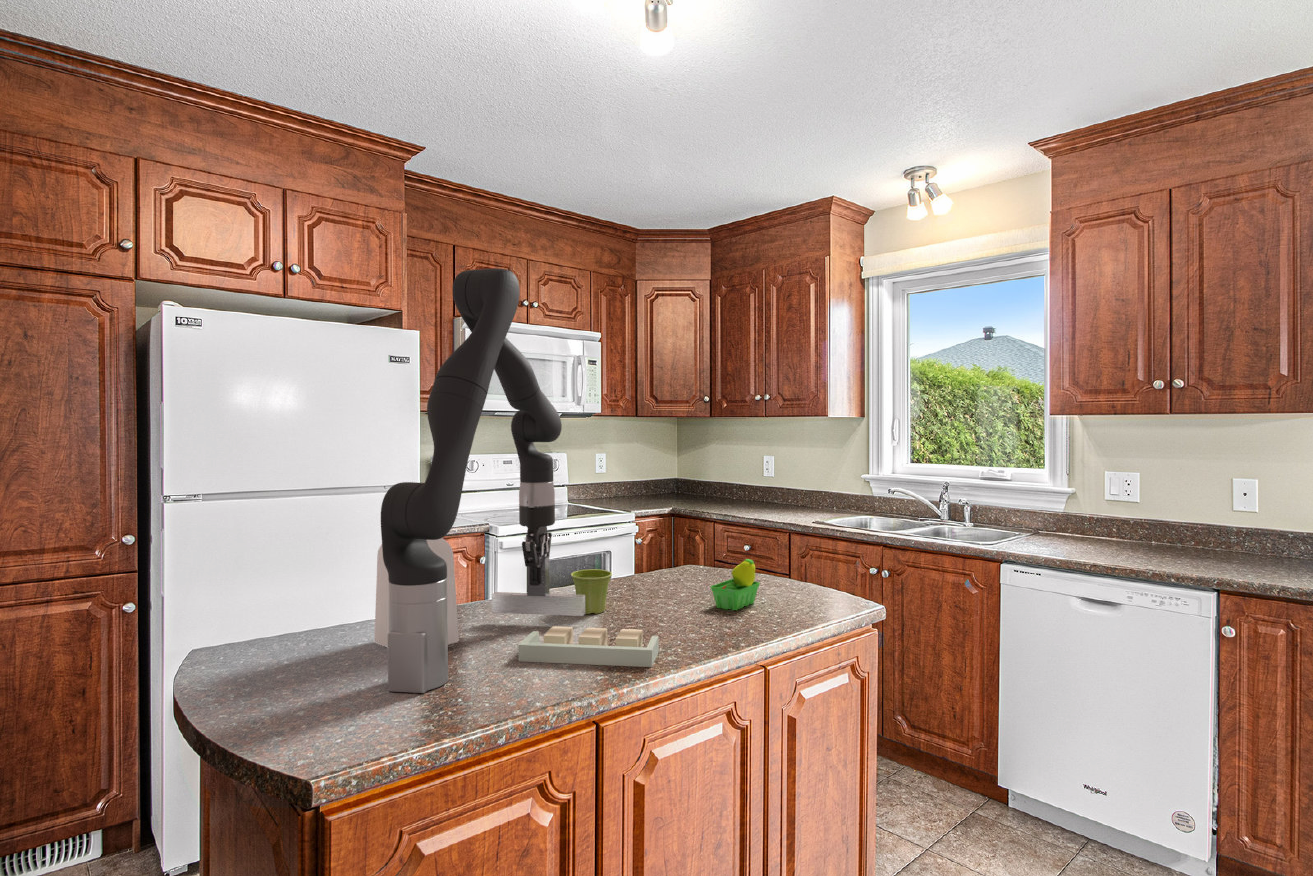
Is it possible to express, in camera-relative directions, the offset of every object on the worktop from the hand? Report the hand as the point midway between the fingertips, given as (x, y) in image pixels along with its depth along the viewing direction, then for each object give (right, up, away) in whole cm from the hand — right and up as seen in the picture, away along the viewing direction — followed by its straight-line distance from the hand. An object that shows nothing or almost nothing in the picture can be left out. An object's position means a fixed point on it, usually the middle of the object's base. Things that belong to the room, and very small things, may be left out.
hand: (537, 582), depth 152 cm
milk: (-22, -9, -12) cm, 27 cm away
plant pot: (+11, -9, +11) cm, 18 cm away
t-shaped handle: (0, -7, 0) cm, 7 cm away
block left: (+7, -9, -18) cm, 22 cm away
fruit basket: (+44, -9, +15) cm, 48 cm away
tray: (+13, -9, -21) cm, 27 cm away
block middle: (+14, -9, -19) cm, 25 cm away
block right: (+20, -9, -20) cm, 30 cm away
